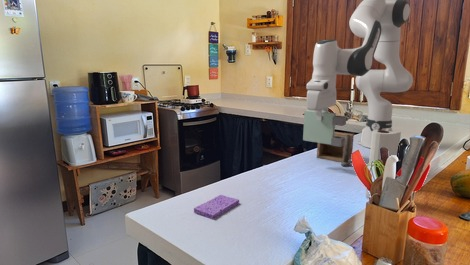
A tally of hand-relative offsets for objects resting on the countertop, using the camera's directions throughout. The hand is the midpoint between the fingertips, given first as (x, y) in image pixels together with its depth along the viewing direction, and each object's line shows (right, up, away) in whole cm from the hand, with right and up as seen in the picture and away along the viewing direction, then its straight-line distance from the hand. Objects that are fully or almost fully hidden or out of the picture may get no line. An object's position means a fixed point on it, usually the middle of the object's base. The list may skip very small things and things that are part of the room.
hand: (321, 119), depth 122 cm
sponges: (-39, -28, -31) cm, 57 cm away
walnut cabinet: (+11, -17, +16) cm, 26 cm away
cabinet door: (+1, -9, +1) cm, 9 cm away
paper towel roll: (+11, -26, -24) cm, 37 cm away
